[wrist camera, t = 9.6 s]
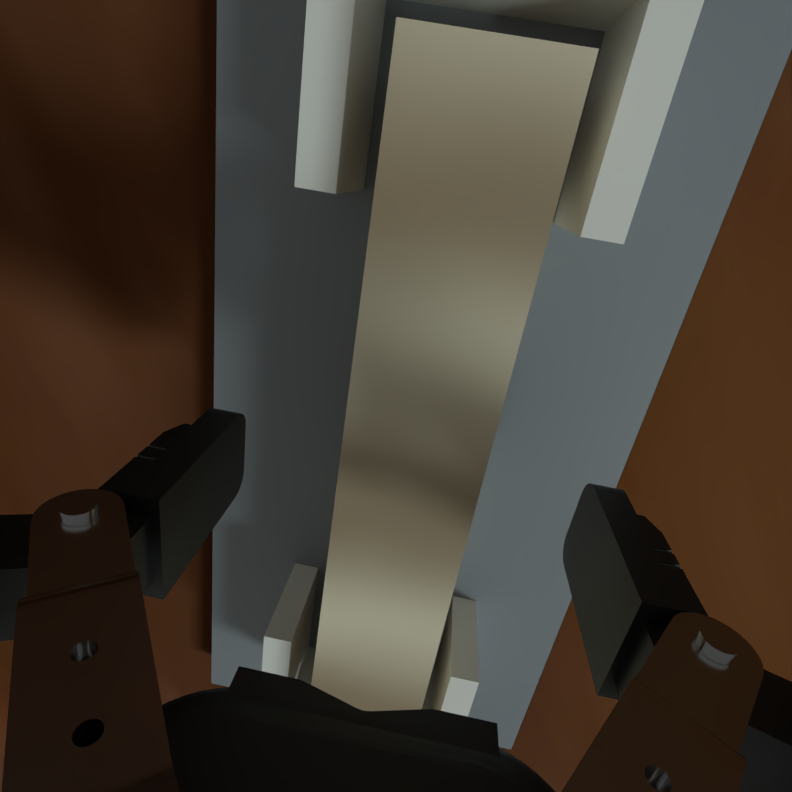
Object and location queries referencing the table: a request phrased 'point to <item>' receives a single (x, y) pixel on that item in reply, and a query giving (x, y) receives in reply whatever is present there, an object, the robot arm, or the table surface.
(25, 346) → the table surface
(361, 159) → the cap board
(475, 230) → the slat
